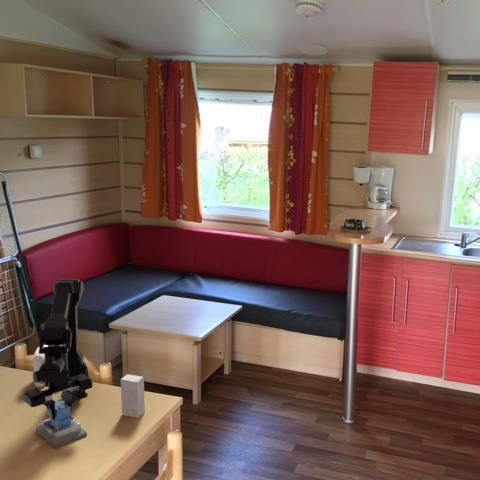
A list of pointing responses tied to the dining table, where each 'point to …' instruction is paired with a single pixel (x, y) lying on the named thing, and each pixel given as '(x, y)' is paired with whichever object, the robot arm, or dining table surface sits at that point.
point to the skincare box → (132, 395)
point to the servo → (61, 415)
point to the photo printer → (38, 363)
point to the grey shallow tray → (60, 433)
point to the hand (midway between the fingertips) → (60, 416)
